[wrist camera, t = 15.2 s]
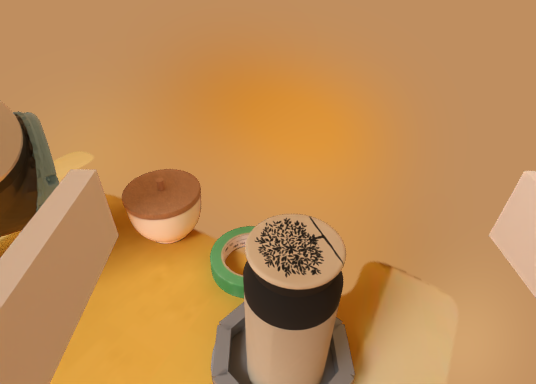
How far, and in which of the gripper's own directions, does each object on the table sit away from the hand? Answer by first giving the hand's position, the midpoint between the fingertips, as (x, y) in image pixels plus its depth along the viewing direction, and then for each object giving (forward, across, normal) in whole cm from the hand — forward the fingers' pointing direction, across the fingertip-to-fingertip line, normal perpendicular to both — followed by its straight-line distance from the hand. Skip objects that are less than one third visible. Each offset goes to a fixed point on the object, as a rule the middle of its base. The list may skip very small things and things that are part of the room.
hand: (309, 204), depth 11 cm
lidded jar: (+31, -16, -30) cm, 46 cm away
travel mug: (+9, +1, -30) cm, 31 cm away
